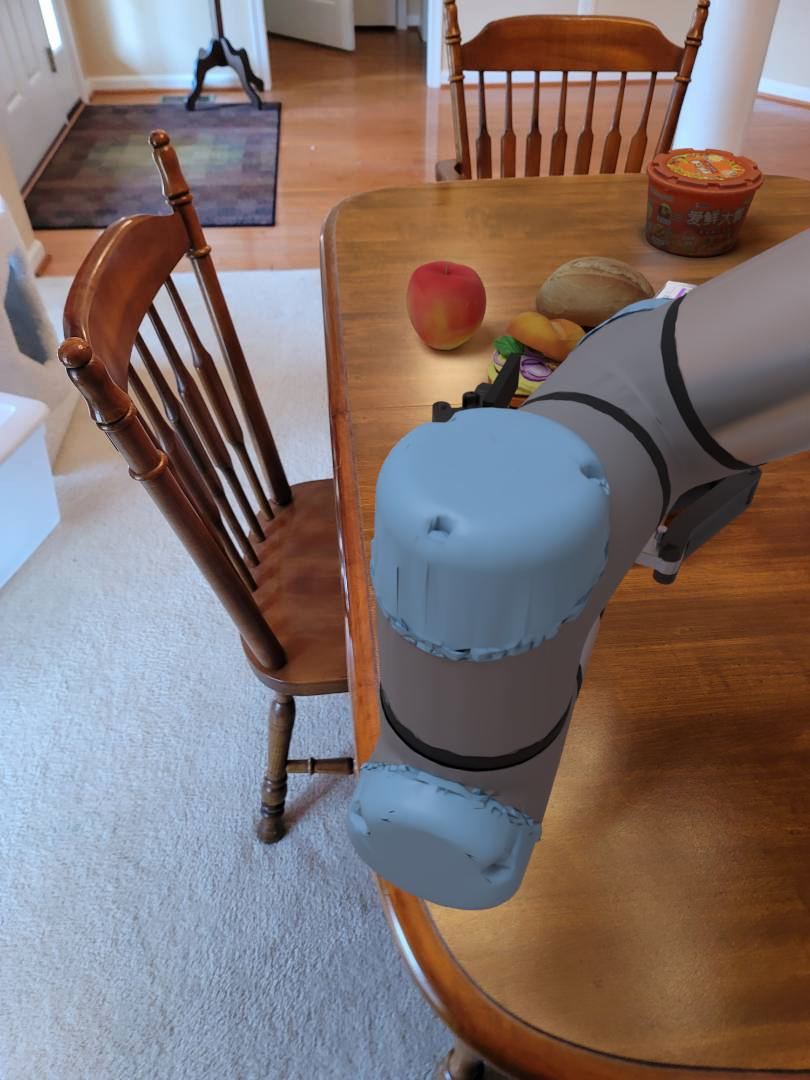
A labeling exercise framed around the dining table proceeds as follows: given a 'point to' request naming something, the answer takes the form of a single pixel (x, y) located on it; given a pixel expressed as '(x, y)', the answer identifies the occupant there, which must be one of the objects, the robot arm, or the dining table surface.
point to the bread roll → (591, 291)
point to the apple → (445, 303)
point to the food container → (698, 200)
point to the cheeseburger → (534, 350)
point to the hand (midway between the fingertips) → (610, 387)
